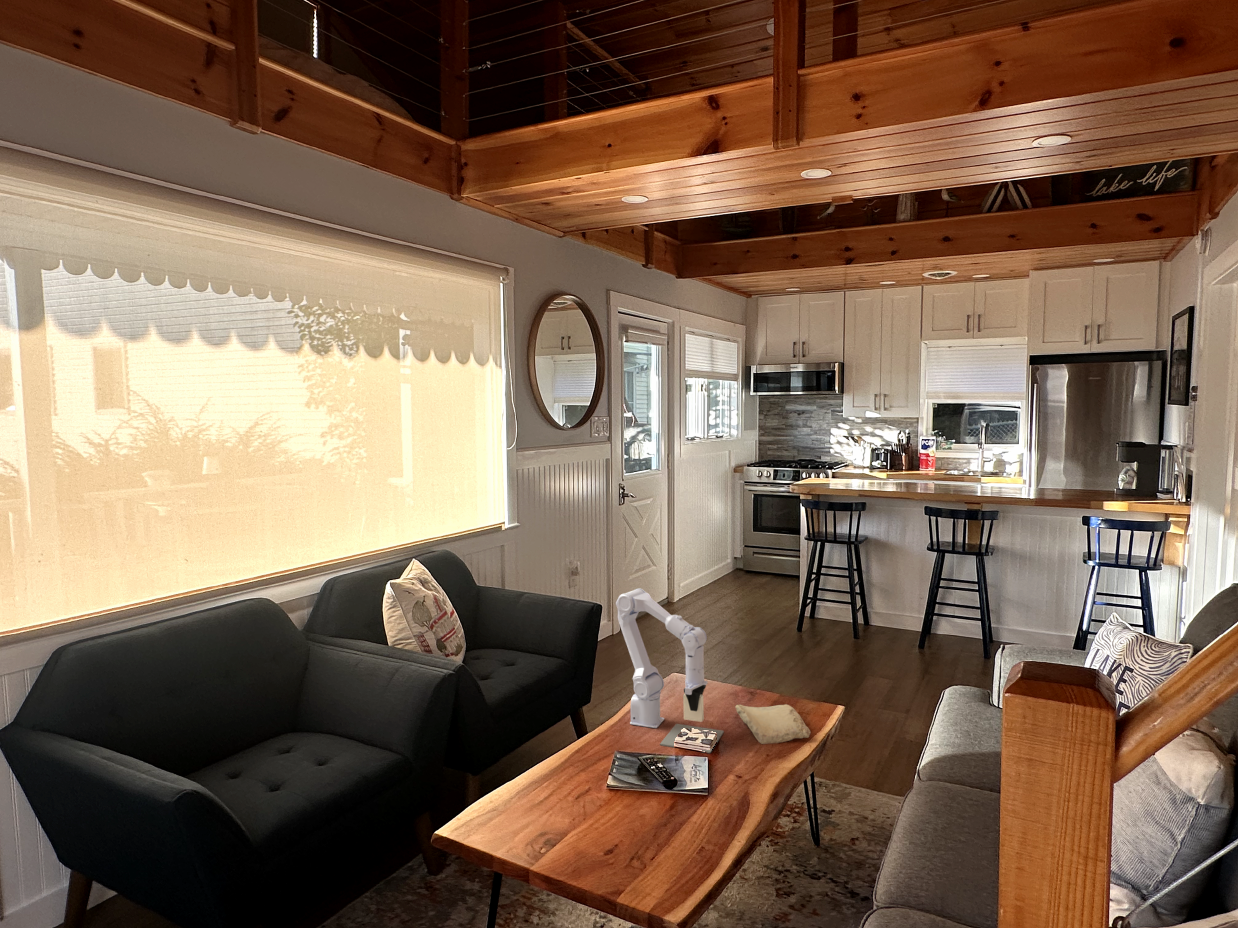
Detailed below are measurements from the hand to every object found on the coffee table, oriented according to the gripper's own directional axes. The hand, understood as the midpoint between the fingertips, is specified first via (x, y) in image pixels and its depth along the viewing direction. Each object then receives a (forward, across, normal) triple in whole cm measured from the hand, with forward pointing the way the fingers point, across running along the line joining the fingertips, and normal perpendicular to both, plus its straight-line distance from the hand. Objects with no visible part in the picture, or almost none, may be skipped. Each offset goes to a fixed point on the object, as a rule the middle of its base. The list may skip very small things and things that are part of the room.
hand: (695, 708), depth 248 cm
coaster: (+3, 0, 0) cm, 4 cm away
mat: (+8, -3, 0) cm, 9 cm away
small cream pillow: (+9, +14, -21) cm, 27 cm away
